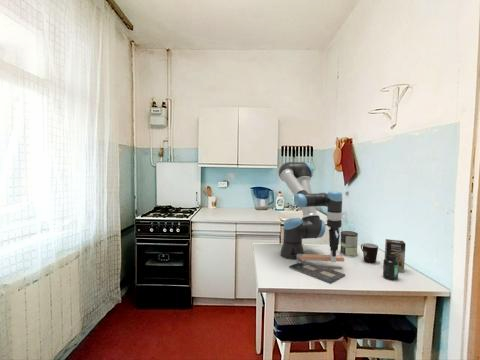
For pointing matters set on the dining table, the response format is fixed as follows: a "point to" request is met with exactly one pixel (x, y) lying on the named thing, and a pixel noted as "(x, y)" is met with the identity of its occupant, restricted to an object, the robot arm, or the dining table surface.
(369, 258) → the coffee mug
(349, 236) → the coffee can
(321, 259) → the swing bar
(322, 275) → the label plate
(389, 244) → the coffee box
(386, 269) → the supplement bottle
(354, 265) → the dining table surface
